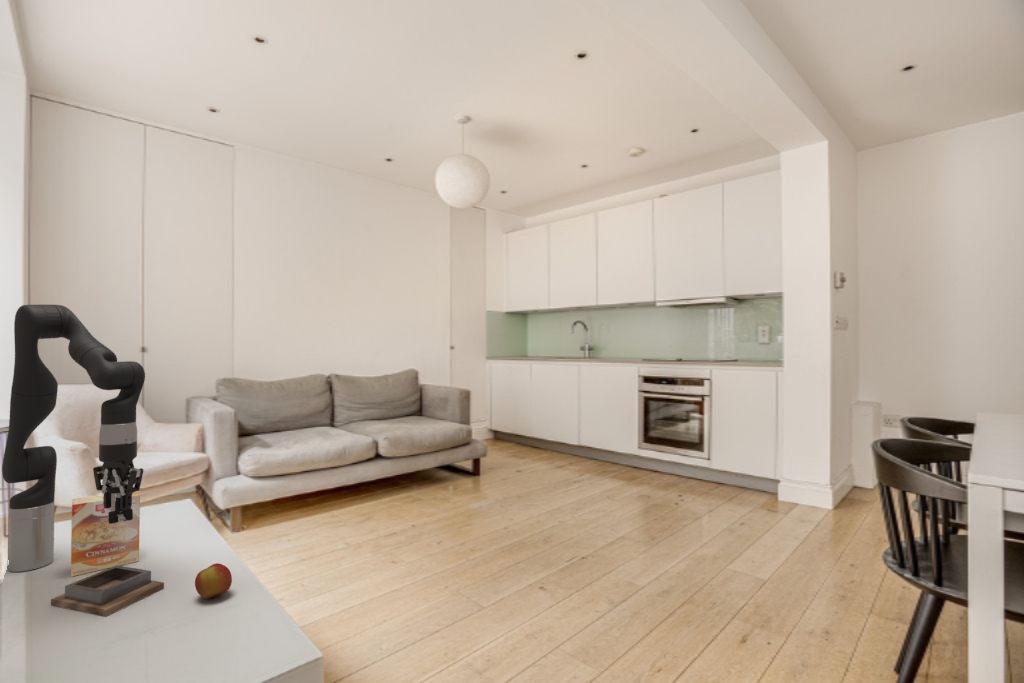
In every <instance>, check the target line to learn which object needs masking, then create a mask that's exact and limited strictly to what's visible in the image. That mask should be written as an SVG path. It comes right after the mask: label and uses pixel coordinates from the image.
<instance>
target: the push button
mask: <svg viewBox="0 0 1024 683" xmlns="http://www.w3.org/2000/svg"><path fill="white" fill-rule="evenodd" d="M127 481H128V479H127V480H126V481H122V482H127ZM107 489H108V493H110V494H111V509H110V512H109V513H108V517H105V518H100V519H107V518H108V521H104V522H109V524H112V523H117V522H122V521H127V520H132V519H133V510H132V508H130V509H127V510H120V496H122V495H121V492H120V488H119V487H117V485H116V482H115V481H113V482H111V485H110V486H108V487H107ZM125 489H127V485H125ZM115 495H116V502H115ZM114 510H115V511H114ZM104 522H100V523H104Z"/></svg>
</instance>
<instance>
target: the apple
mask: <svg viewBox="0 0 1024 683" xmlns="http://www.w3.org/2000/svg"><path fill="white" fill-rule="evenodd" d="M232 582H233V576H232V572H231V571H230V569H229V568H228V566H226V565H224V564H222V563H213V564H211V565H209V566H208V567H207V568H206V567H205V568H204V569H202V570H201V571H199V572H198V573H197V575H196V576H195V580H194V586H195V591H196V592H197V594H198V595H199V596H200V597H201V598H202V599H213V598H215V597H219V596H221V595H223V594H224V593H226V592H228V591H229V590H230V589H231V586H232Z"/></svg>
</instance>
